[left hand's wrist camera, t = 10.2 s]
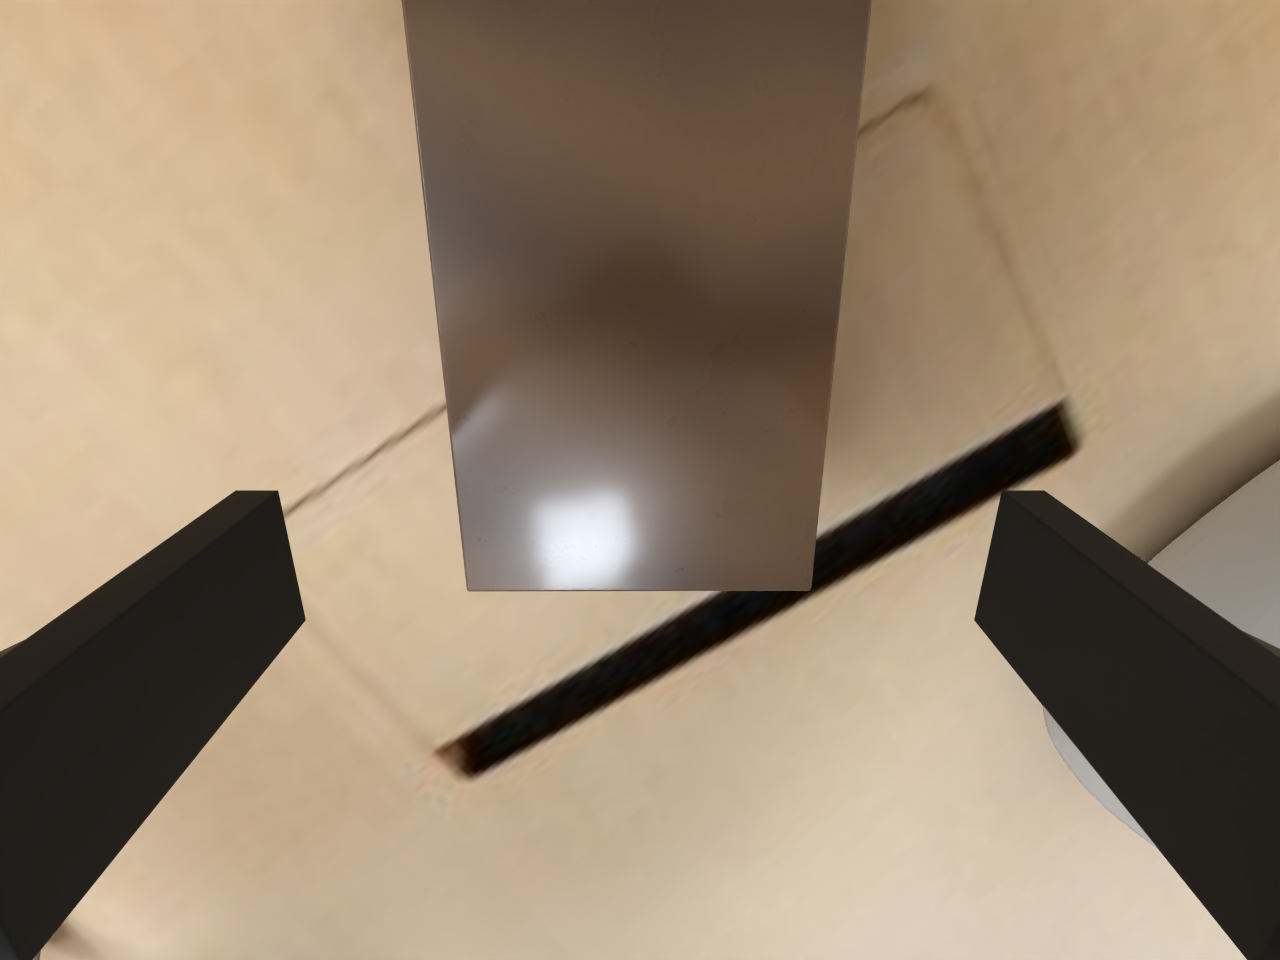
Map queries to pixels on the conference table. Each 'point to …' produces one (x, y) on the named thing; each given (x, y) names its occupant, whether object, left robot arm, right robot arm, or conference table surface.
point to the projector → (1212, 591)
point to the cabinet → (637, 280)
